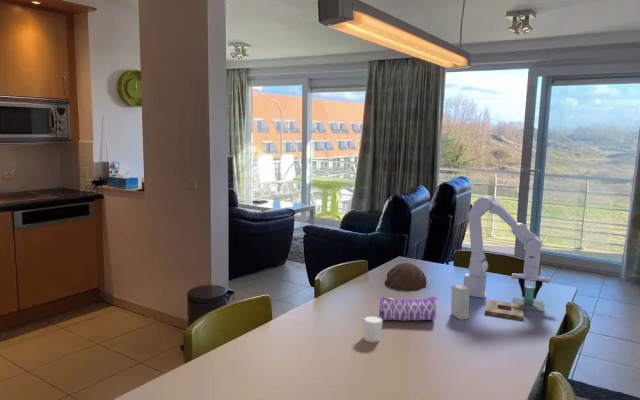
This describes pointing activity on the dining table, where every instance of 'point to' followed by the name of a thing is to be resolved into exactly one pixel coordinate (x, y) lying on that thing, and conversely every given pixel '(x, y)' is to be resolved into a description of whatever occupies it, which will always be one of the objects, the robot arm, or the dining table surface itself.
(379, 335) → the white cylinder
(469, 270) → the robot arm
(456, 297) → the skincare box
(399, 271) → the decorative dome
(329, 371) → the dining table surface
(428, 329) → the dining table surface
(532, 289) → the peg
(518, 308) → the holder block
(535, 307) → the slate mat
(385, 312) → the pencil case
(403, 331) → the dining table surface
